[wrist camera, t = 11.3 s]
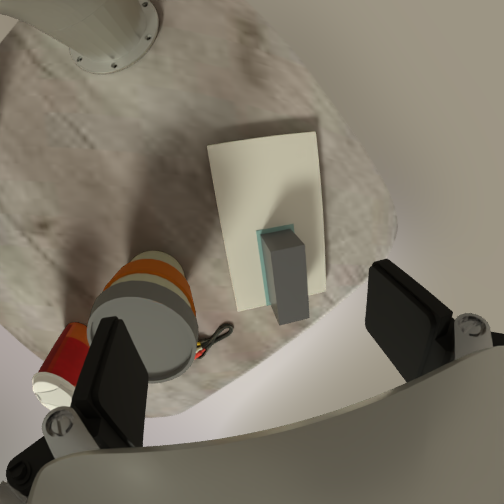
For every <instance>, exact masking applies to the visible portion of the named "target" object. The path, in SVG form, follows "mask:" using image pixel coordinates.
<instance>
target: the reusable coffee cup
mask: <svg viewBox="0 0 504 504" xmlns="http://www.w3.org/2000/svg"><path fill="white" fill-rule="evenodd" d="M112 316H117V317H118V319H122V320H123V321H124V323H125V325H126V328H127V330H128V332H129V334H130V336H131V339H132V341H133V343H134V345H135V347H136V349H137V351H138V353H139V355H140V357H141V359H142V361H143V363H144V365H145V367H146V369H147V372H148V376H149V381H148V383H162V382H166V381H169V380H172V379H174V378H177V377H179V376H180V375H181V374H183V373H184V372H186V370H187V369H188V368H189V367H190V366H191V364H192V362H193V361H194V359H195V355H196V350H197V342H198V324H197V320H196V311H195V307H194V303H193V298H192V294H191V290H190V286H189V284H188V282H187V280H186V279H185V276H184V272H183V269H182V267H181V265H180V264H179V263H178V261H176V260H175V259H174V258H173V257H172V256H170V255H168V254H166V253H164V252H160V251H147V252H143V253H141V254H139V255H137V256H136V257H134V258H133V259H132V260H131V262H130V263H128V264H126V265H125V266H123V267H122V268H121V269H120V270H119V271H118V272H117V273H116V274H115V276H114V277H113V278H112V279H111V280H110V282H109V283H108V284H107V285H106V286H105V288H104V290H103V292H102V293H101V294H100V295H99V296H98V297H97V299H96V301H95V303H94V305H93V307H92V311H91V314H90V317H89V321H88V326H87V339H88V343H89V346H90V345H91V343H92V340H93V338H94V335H95V333H96V330H97V328H98V325H99V323H100V320H101V319H102V318H105V317H112Z"/></svg>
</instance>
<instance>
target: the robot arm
mask: <svg viewBox="0 0 504 504" xmlns="http://www.w3.org/2000/svg"><path fill="white" fill-rule="evenodd" d="M145 6H147V7H145ZM0 14H3V15H7V16H10V17H13V18H16V19H18V20H20V21H23V22H25V23H27V24H29V25H31V26H33V27H34V28H36V29H38V30H40V31H42V32H43V33H45V34H47V35H49V36H51V37H52V38H54V39H56V40H58V41H59V42H61V43H63V44H65V45H66V46H68V47H69V50H70V55H71V57H72V59H73V61H74V62H75V63H76V65H78V66H79V67H80V68H81V69H83V70H85V71H87V72H90V73H93V74H111V73H114V72H118V71H121V70H123V69H125V68H128V67H129V66H131V65H132V64H134V63H136V62H137V61H138V60H139V59H140V58H142V57H143V56H144V55H145V54H146V52H147V51H148V50H149V49H150V47H151V46H152V44H153V43H154V41H155V38H156V36H157V33H158V29H159V18H158V14H157V11H156V9H155V7H154V6H153V4H152V3H151V2H150V1H149V0H0ZM148 38H151V39H150V40H147V39H148ZM81 59H82V61H81ZM115 65H117V67H116V68H114V67H115ZM452 314H453V312H452V311H451V310H450V309H449V308H448V307H446V306H445V305H444V304H443V303H441V301H439V300H438V299H437V298H436V297H435V296H434V295H432V294H431V293H430V292H429V291H428V290H426V289H425V288H424V287H423V286H421V285H420V284H419V283H418V282H416V281H415V280H414V279H413V278H412V277H410V276H409V275H408V274H407V273H405V272H404V271H403V270H401V269H400V268H399V267H398V266H396V265H395V264H394V263H392V262H391V261H390V260H388V259H384V260H380V261H376V262H374V263H373V264H372V266H371V267H370V268H369V277H368V293H367V306H366V317H365V326H366V329H367V330H368V332H369V333H370V335H371V336H372V337H373V338H374V339H375V341H376V342H377V343H378V345H379V346H380V348H381V349H382V350H383V351H384V353H385V354H386V355H387V357H388V358H389V359H390V361H391V362H392V363H393V364H394V366H395V367H396V369H397V370H398V371H399V373H400V374H401V375H402V377H403V378H404V379H405V381H406V382H407V383H405V384H403V385H401V386H398V387H396V388H394V389H392V390H389V391H387V392H384V393H382V394H379V395H377V396H375V397H372V398H369V399H367V400H364V401H361V402H359V403H356V404H353V405H350V406H347V407H345V408H342V409H339V410H336V411H333V412H330V413H326V414H323V415H320V416H317V417H313V418H310V419H307V420H303V421H299V422H296V423H292V424H289V425H284V426H280V427H277V428H272V429H268V430H263V431H258V432H254V433H249V434H244V435H238V436H233V437H227V438H222V439H215V440H208V441H201V442H193V443H184V444H174V445H163V446H150V447H143V432H144V420H145V409H146V399H147V390H148V381H149V376H148V372H147V369H146V367H145V365H144V363H143V361H142V359H141V357H140V355H139V353H138V351H137V349H136V347H135V345H134V343H133V341H132V339H131V336H130V334H129V332H128V330H127V328H126V325H125V323H124V321H123V320H122V319H118V317H117V316H112V317H105V318H102V319H101V320H100V323H99V325H98V328H97V330H96V333H95V335H94V338H93V340H92V343H91V345H90V348H89V350H88V353H87V356H86V358H85V361H84V364H83V367H82V369H81V372H80V375H79V378H78V381H77V384H76V387H75V390H74V393H73V396H72V399H71V400H72V402H71V405H70V407H68V406H61V407H57V408H55V409H53V410H51V411H50V412H49V413H48V414H47V415H46V417H45V418H44V421H43V423H42V431H43V434H44V436H43V437H42V438H40V439H39V440H38V441H36V442H35V443H34V444H32V445H31V446H30V447H28V448H27V449H25V450H24V451H23V452H21V453H20V454H18V455H17V456H16V457H14V458H13V459H12V460H11V461H10V462H9V464H8V466H7V470H6V477H7V482H4V481H2V482H1V484H0V504H504V334H502V333H495V332H491V331H490V327H489V324H488V322H487V321H486V320H485V319H483V318H482V317H481V316H478V315H476V314H472V313H465V314H462V315H459V316H458V317H457V318H456V319H455V320H454V319H453V318H452Z"/></svg>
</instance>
